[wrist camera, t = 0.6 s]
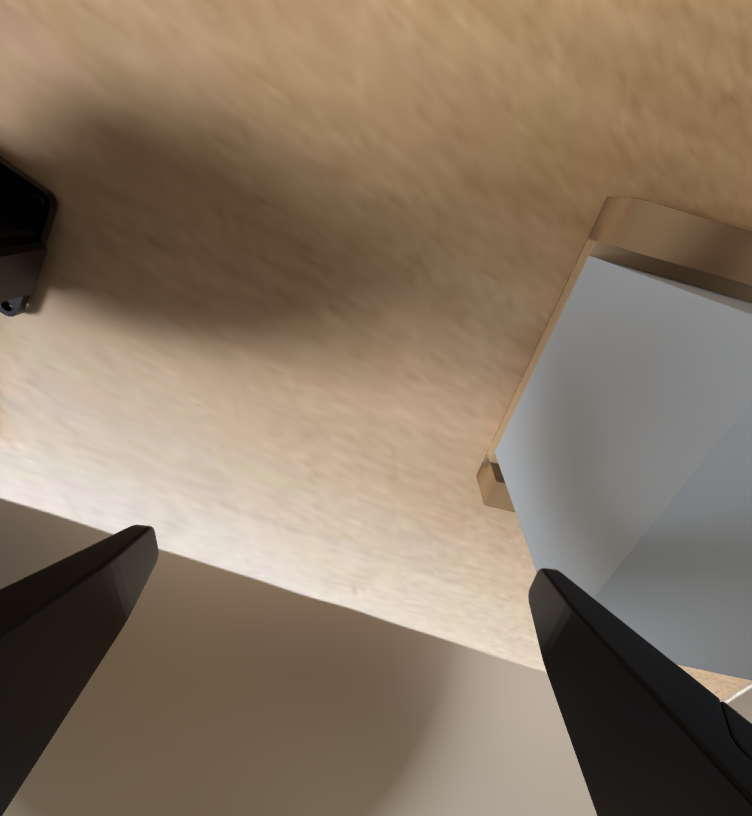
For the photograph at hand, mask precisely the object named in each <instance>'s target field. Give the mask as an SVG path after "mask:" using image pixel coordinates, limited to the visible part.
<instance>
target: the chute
mask: <svg viewBox="0 0 752 816" xmlns="http://www.w3.org/2000/svg"><path fill="white" fill-rule="evenodd" d="M589 256H592V257H596V258H599V259H603V260H606V261H610V262H613V263H617V264H620V265H624V266H627V267H631V268H634V269H638V270H641V271H645V272H648V273H652V274H655V275H659V276H662V277H666V278H669V279H673V280H676V281H680V282H683V283H687V284H690V285H694V286H697V287H701V288H704V289H708V290H711V291H715V292H718V293H722V294H725V295H729V296H732V297H736V298H739V299H743V300H746V301H750V302H752V232H749V231H746V230H743V229H739V228H736V227H733V226H729V225H726V224H723V223H719V222H716V221H713V220H709V219H706V218H703V217H699V216H696V215H693V214H689V213H686V212H683V211H679V210H676V209H673V208H669V207H666V206H663V205H659V204H656V203H653V202H649V201H646V200H642V199H639V198H622V197H607V199H606V201H605V203H604V205H603V208H602V210H601V212H600V214H599V216H598V218H597V220H596V222H595V225H594V227H593V229H592V231H591V233H590V235H589V237H588V239H587V242H586V244H585V246H584V248H583V250H582V252H581V254H580V257H579V259H578V261H577V263H576V265H575V267H574V269H573V271H572V274H571V276H570V278H569V280H568V282H567V284H566V286H565V288H564V291H563V293H562V295H561V297H560V299H559V301H558V303H557V305H556V308H555V310H554V312H553V314H552V316H551V318H550V320H549V323H548V325H547V327H546V329H545V331H544V333H543V335H542V337H541V340H540V342H539V344H538V346H537V348H536V350H535V352H534V354H533V357H532V359H531V361H530V363H529V365H528V367H527V369H526V372H525V374H524V376H523V378H522V380H521V382H520V384H519V386H518V389H517V391H516V393H515V395H514V397H513V399H512V401H511V403H510V406H509V408H508V410H507V412H506V414H505V416H504V418H503V420H502V423H501V425H500V427H499V429H498V431H497V433H496V435H495V438H494V440H493V442H492V444H491V446H490V448H489V450H488V452H487V455H486V457H485V459H484V461H483V463H482V465H481V467H480V469H479V472H478V474H477V480H478V484H479V488H480V491H481V495H482V499H483V503H484V505H486V506H490V507H494V508H499V509H503V510H507V511H512V512H515V509H514V506H513V503H512V500H511V498H510V495H509V492H508V489H507V486H506V483H505V481H504V478H503V475H502V472H501V469H500V466H499V464H498V461H497V458H496V455H495V450H496V448H497V446H498V444H499V442H500V440H501V438H502V436H503V434H504V432H505V429H506V427H507V425H508V423H509V421H510V419H511V417H512V415H513V413H514V411H515V409H516V407H517V404H518V402H519V400H520V398H521V396H522V394H523V392H524V390H525V388H526V386H527V384H528V382H529V379H530V377H531V375H532V373H533V371H534V369H535V367H536V365H537V363H538V361H539V359H540V357H541V354H542V352H543V350H544V348H545V346H546V344H547V342H548V340H549V338H550V336H551V334H552V332H553V329H554V327H555V325H556V323H557V321H558V319H559V317H560V315H561V313H562V311H563V309H564V307H565V304H566V302H567V300H568V298H569V296H570V294H571V292H572V290H573V288H574V286H575V284H576V282H577V279H578V277H579V275H580V273H581V271H582V269H583V267H584V265H585V263H586V261H587V259H588V257H589Z"/></svg>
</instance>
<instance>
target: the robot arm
mask: <svg viewBox="0 0 752 816" xmlns="http://www.w3.org/2000/svg"><path fill="white" fill-rule="evenodd" d="M39 196H41V197H42V198H43V200H44V206H43V205H42V204H41V203H40V200H39ZM57 205H58V204H57V200H56V198H55V196H54V195H53V193H51V192H50V191H49V190H48V189H47V188H45V187H44V186H42V185H41V184H39V183H38V182H36V181H35V180H34V179H32V178H31V177H29V176H28V175H26V174H25V173H23V172H22V171H20V170H19V169H18V168H16V167H15V166H13V165H12V164H10V163H9V162H7V161H6V160H4V159H3V158H2V157H0V312H1V313H3V314H4V315H7V316H12V317H13V316H16V315H19V314H21V313H23V312H24V310H25V307H26V304H27V301H28V298H29V295H30V294H32V293H33V292H34V288H35V285H36V282H37V279H38V276H39V273H40V270H41V267H42V264H43V261H44V258H45V255H46V252H47V247H46V242H47V239H48V236H49V232H50V229H51V226H52V223H53V220H54V217H55V214H56V211H57ZM8 302H9V303H10V304H11V305H12V307H11V306H10V305H9V303H8ZM158 553H159V552H158V545H157V540H156V535H155V531H154V529H153V527H151V526H144V525H133V526H130V527H128V528H126V529H124V530H122V531H120V532H118V533H116V534H114V535H112V536H110V537H108V538H106V539H103V540H102V541H99V542H97V543H96V544H93V545H91V546H89V547H87V548H85V549H83V550H81V551H78V552H76V553H74V554H72V555H70V556H68V557H66V558H64V559H62V560H60V561H58V562H56V563H54V564H52V565H49V566H47V567H45V568H43V569H41V570H39V571H37V572H35V573H33V574H31V575H29V576H27V577H24V578H23V579H20V580H18V581H16V582H14V583H12V584H10V585H8V586H6V587H4V588H2V589H0V816H2V815H3V813H4V812H5V810H6V809H7V807H8V805H9V804H10V802H11V801H12V799H13V798H14V796H15V794H16V793H17V792H18V790H19V788H20V787H21V785H22V784H23V782H24V781H25V779H26V777H27V776H28V774H29V773H30V771H31V770H32V768H33V767H34V765H35V764H36V762H37V760H38V759H39V757H40V756H41V754H42V753H43V751H44V749H45V748H46V746H47V745H48V743H49V742H50V740H51V739H52V737H53V736H54V734H55V732H56V731H57V729H58V728H59V726H60V725H61V723H62V722H63V720H64V718H65V717H66V715H67V713H68V712H69V711H70V709H71V707H72V706H73V704H74V703H75V701H76V700H77V698H78V697H79V695H80V693H81V692H82V690H83V689H84V687H85V686H86V684H87V683H88V681H89V680H90V678H91V676H92V675H93V673H94V672H95V670H96V669H97V667H98V665H99V664H100V662H101V661H102V659H103V658H104V656H105V655H106V653H107V651H108V650H109V648H110V647H111V645H112V644H113V642H114V641H115V639H116V638H117V636H118V634H119V633H120V631H121V629H122V628H123V626H124V625H125V623H126V621H127V620H128V618H129V616H130V614H131V612H132V610H133V608H134V606H135V604H136V602H137V600H138V598H139V596H140V594H141V592H142V590H143V588H144V586H145V584H146V582H147V580H148V578H149V576H150V574H151V572H152V570H153V569H154V567H155V564H156V562H157V559H158ZM529 604H530V608H531V613H532V617H533V621H534V625H535V629H536V634H537V638H538V642H539V646H540V650H541V654H542V658H543V662H544V665H545V668H546V671H547V674H548V677H549V680H550V682H551V685H552V688H553V691H554V694H555V697H556V700H557V702H558V705H559V708H560V711H561V713H562V716H563V719H564V722H565V725H566V728H567V731H568V734H569V736H570V739H571V742H572V745H573V747H574V751H575V753H576V756H577V759H578V762H579V765H580V768H581V770H582V773H583V776H584V778H585V781H586V784H587V787H588V790H589V793H590V796H591V799H592V801H593V804H594V807H595V810H596V813H597V816H752V724H751V723H750V722H749V721H747V720H746V719H745V718H744V717H742V716H741V715H740V714H738V713H737V712H736V711H735V710H734V709H732V708H731V707H730V706H728V705H727V704H726V703H725V702H720V700H719V698H718V697H716V696H715V695H714V694H713V693H711V692H710V691H709V690H708V689H706V688H705V687H704V686H703V685H701V684H700V683H699V682H698V681H696V680H695V679H694V678H693V677H691V676H690V675H689V674H688V673H686V672H685V671H684V670H683V669H681V668H680V667H679V666H678V665H676V664H675V663H674V662H673V661H671V660H670V659H669V658H668V657H666V656H665V655H664V654H663V653H661V652H660V651H659V650H658V649H656V648H655V647H654V646H653V645H651V644H650V643H649V642H648V641H646V640H645V639H644V638H643V637H641V636H640V635H639V634H638V633H636V632H635V631H634V630H633V629H631V628H630V627H629V626H628V625H626V624H625V623H624V622H623V621H621V620H620V619H619V618H618V617H616V616H615V615H614V614H613V613H611V612H610V611H609V610H608V609H606V608H605V607H604V606H603V605H601V604H600V603H599V602H598V601H596V600H595V599H594V598H593V597H591V596H590V595H589V594H588V593H586V592H585V591H584V590H583V589H581V588H580V587H579V586H578V585H576V584H575V583H574V582H573V581H571V580H570V579H569V578H568V577H566V576H565V575H564V574H563V573H561V572H560V571H558V570H556V569H549V568H541V569H539V570H538V572H537V574H536V576H535V578H534V581H533V583H532V585H531V587H530V590H529Z"/></svg>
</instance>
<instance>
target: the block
mask: <svg viewBox="0 0 752 816" xmlns="http://www.w3.org/2000/svg"><path fill="white" fill-rule="evenodd" d="M495 455H496V458H497V461H498V464H499V466H500V469H501V472H502V475H503V478H504V481H505V483H506V486H507V489H508V492H509V495H510V498H511V500H512V503H513V506H514V509H515V512H516V515H517V517H518V520H519V523H520V526H521V529H522V532H523V534H524V537H525V540H526V543H527V546H528V549H529V552H530V554H531V557H532V560H533V563H534V566H535V569H536V571H537V572H538V570H539V569H541V568H549V569H556V570H558V571H560V572H561V573H563V574H564V575H565V576H566V577H568V578H569V579H570V580H571V581H573V582H574V583H575V584H576V585H578V586H579V587H580V588H581V589H583V590H584V591H585V592H586V593H588V594H589V595H590V596H591V597H593V598H594V599H595V600H596V601H598V602H599V603H600V604H601V605H603V606H604V607H605V608H606V609H608V610H609V611H610V612H611V613H613V614H614V615H615V616H616V617H618V618H619V619H620V620H621V621H623V622H624V623H625V624H626V625H628V626H629V627H630V628H631V629H633V630H634V631H635V632H636V633H638V634H639V635H640V636H641V637H643V638H644V639H645V640H646V641H648V642H649V643H650V644H651V645H653V646H654V647H655V648H656V649H658V650H659V651H660V652H661V653H663V654H664V655H665V656H666V657H668V658H669V659H670V660H671V661H673V662H674V663H675V664H677V665H682V666H687V667H691V668H696V669H701V670H705V671H710V672H715V673H719V674H724V675H729V676H734V677H738V678H743V679H748V680H752V302H750V301H746V300H743V299H739V298H736V297H732V296H729V295H725V294H722V293H718V292H715V291H711V290H708V289H704V288H701V287H697V286H694V285H690V284H687V283H683V282H680V281H676V280H673V279H669V278H666V277H662V276H659V275H655V274H652V273H648V272H645V271H641V270H638V269H634V268H631V267H627V266H624V265H620V264H617V263H613V262H610V261H606V260H603V259H599V258H596V257H592V256H589V257H588V259H587V261H586V263H585V265H584V267H583V269H582V271H581V273H580V275H579V277H578V279H577V282H576V284H575V286H574V288H573V290H572V292H571V294H570V296H569V298H568V300H567V302H566V304H565V307H564V309H563V311H562V313H561V315H560V317H559V319H558V321H557V323H556V325H555V327H554V329H553V332H552V334H551V336H550V338H549V340H548V342H547V344H546V346H545V348H544V350H543V352H542V354H541V357H540V359H539V361H538V363H537V365H536V367H535V369H534V371H533V373H532V375H531V377H530V379H529V382H528V384H527V386H526V388H525V390H524V392H523V394H522V396H521V398H520V400H519V402H518V404H517V407H516V409H515V411H514V413H513V415H512V417H511V419H510V421H509V423H508V425H507V427H506V429H505V432H504V434H503V436H502V438H501V440H500V442H499V444H498V446H497V448H496V450H495Z"/></svg>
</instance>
